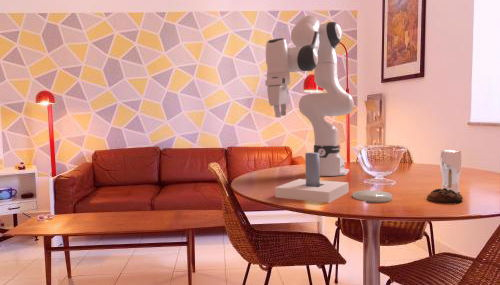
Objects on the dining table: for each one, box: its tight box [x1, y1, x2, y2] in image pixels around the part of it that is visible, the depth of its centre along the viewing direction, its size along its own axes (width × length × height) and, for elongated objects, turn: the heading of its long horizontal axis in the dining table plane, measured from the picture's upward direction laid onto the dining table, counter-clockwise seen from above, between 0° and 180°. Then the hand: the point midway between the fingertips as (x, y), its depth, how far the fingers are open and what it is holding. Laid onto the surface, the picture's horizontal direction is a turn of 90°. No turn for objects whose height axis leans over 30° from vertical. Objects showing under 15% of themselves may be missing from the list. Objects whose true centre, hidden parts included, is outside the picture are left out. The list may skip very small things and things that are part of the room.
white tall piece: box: [439, 149, 462, 194], centre depth 148 cm, size 7×7×15 cm
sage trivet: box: [352, 190, 393, 204], centre depth 140 cm, size 13×13×2 cm
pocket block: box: [274, 178, 350, 204], centre depth 147 cm, size 20×20×4 cm
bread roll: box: [426, 188, 463, 205], centre depth 135 cm, size 11×11×5 cm
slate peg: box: [305, 152, 321, 187], centre depth 146 cm, size 5×5×15 cm
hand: (281, 116), depth 159 cm, fingers open, 8 cm apart
